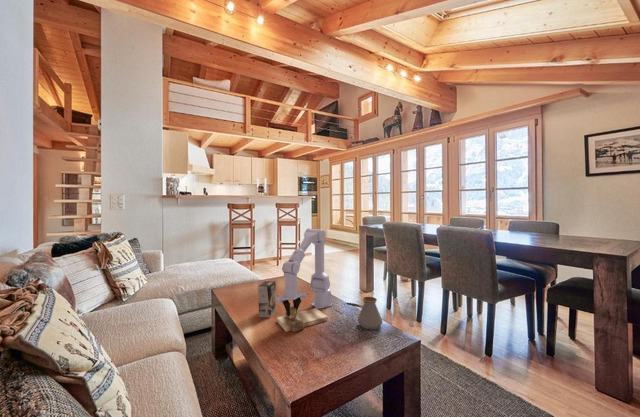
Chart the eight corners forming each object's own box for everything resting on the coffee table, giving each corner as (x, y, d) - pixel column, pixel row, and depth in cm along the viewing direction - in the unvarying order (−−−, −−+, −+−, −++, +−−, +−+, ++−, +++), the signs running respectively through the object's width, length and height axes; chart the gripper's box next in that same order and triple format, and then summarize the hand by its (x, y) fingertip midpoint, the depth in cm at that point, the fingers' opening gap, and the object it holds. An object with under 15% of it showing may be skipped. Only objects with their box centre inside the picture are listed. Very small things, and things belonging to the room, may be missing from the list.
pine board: (316, 311, 143) (316, 307, 143) (327, 320, 132) (327, 316, 132) (276, 321, 132) (276, 317, 132) (286, 331, 122) (286, 327, 122)
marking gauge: (291, 318, 135) (291, 303, 135) (303, 329, 123) (303, 312, 123) (282, 320, 133) (282, 305, 132) (293, 332, 121) (293, 315, 121)
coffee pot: (368, 318, 134) (368, 288, 134) (387, 326, 125) (387, 295, 125) (336, 332, 121) (336, 299, 120) (355, 342, 112) (355, 307, 111)
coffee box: (270, 318, 136) (269, 286, 136) (258, 317, 137) (257, 285, 137) (276, 310, 145) (276, 281, 144) (265, 309, 146) (264, 280, 146)
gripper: (279, 291, 121) (280, 321, 121) (308, 286, 128) (309, 314, 128) (274, 287, 127) (275, 315, 127) (302, 282, 134) (302, 309, 135)
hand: (291, 314), depth 128 cm, fingers closed on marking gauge, 3 cm apart
